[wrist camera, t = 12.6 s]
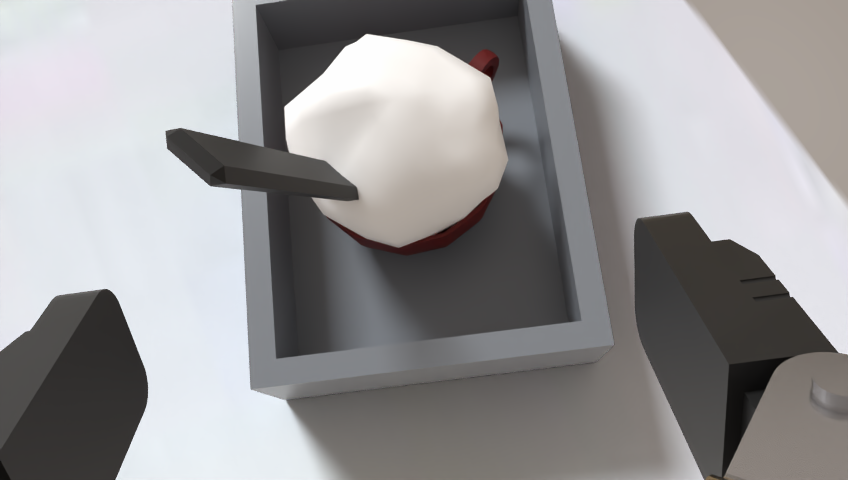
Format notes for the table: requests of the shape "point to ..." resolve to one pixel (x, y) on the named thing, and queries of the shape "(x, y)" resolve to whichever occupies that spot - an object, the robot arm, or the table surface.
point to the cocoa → (378, 145)
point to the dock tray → (432, 270)
